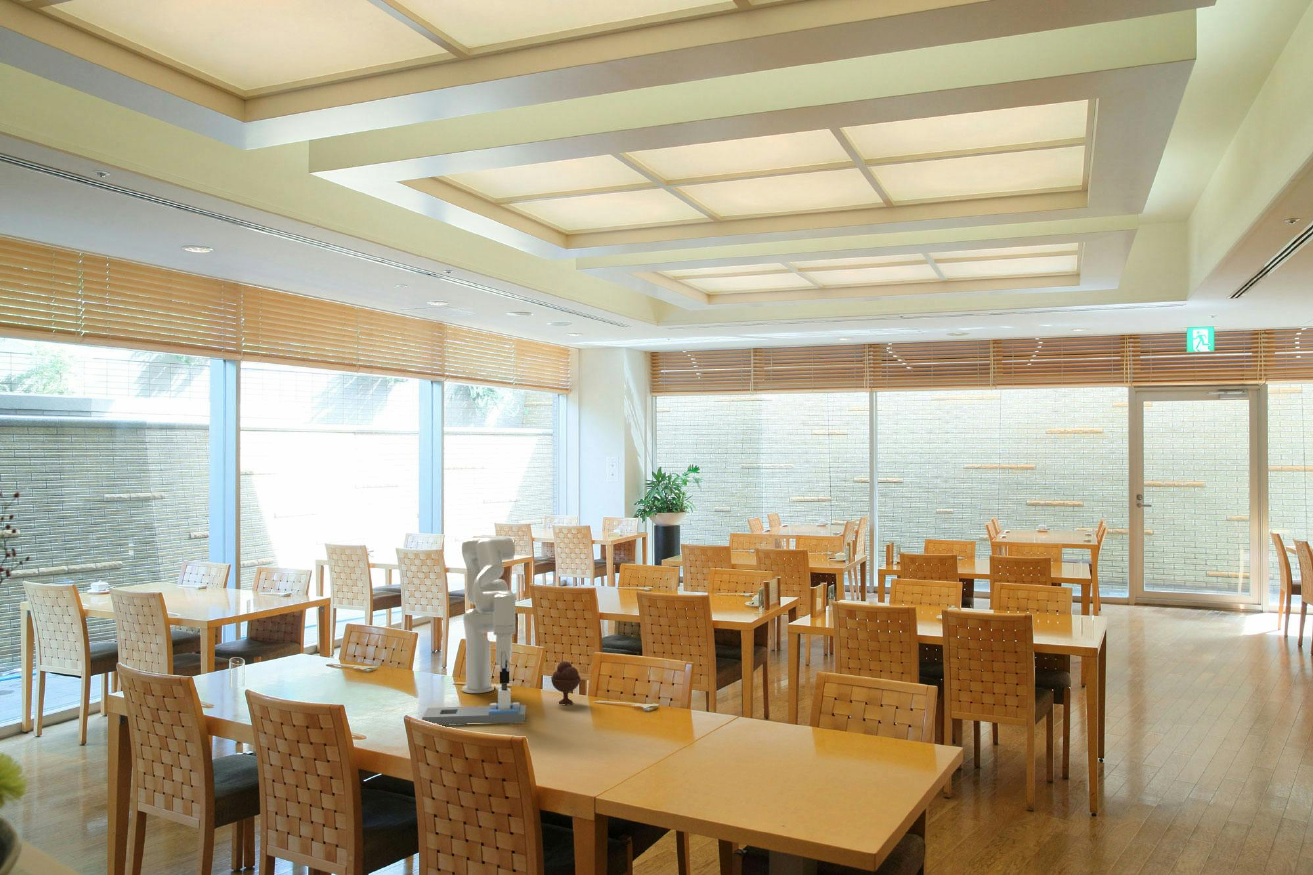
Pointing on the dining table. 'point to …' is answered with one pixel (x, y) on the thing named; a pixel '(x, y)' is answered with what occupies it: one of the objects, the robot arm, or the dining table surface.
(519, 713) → the board
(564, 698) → the ice cream bowl
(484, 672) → the robot arm
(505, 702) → the cord plug
